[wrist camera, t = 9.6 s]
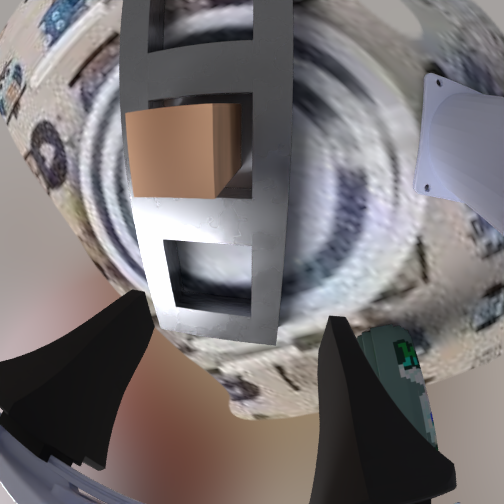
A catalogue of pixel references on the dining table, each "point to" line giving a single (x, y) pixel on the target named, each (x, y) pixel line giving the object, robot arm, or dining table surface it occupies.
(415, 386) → the can
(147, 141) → the square block
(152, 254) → the grey flat perforated plate
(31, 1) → the dining table surface
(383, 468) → the robot arm
